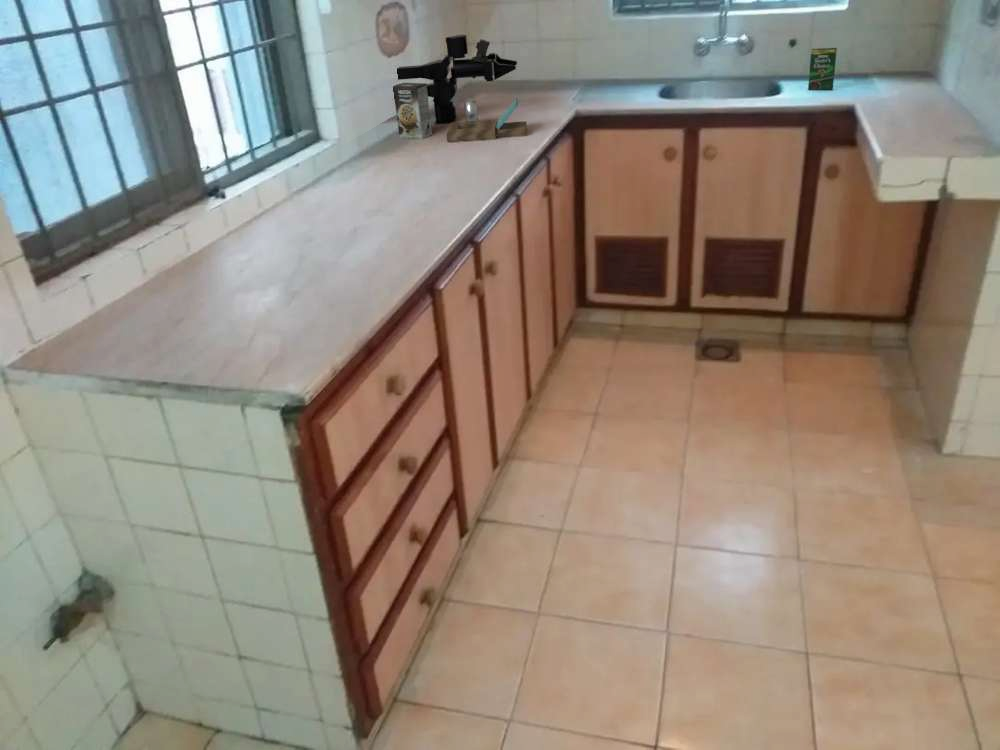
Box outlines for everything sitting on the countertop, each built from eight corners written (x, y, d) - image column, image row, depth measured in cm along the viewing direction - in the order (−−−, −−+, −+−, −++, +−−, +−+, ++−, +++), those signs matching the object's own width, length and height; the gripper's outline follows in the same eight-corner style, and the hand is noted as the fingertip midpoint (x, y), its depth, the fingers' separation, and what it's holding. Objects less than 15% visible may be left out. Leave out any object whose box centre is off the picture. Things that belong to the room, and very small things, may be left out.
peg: (465, 127, 268) (463, 102, 264) (467, 124, 271) (464, 99, 267) (477, 126, 267) (475, 101, 264) (478, 123, 271) (476, 99, 267)
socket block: (447, 142, 252) (446, 132, 250) (452, 131, 264) (451, 122, 262) (525, 137, 250) (525, 127, 248) (526, 126, 262) (526, 117, 260)
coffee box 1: (398, 138, 262) (391, 86, 254) (409, 133, 267) (402, 82, 259) (422, 139, 258) (415, 86, 250) (433, 134, 263) (427, 82, 255)
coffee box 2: (806, 90, 276) (810, 49, 270) (808, 88, 278) (812, 47, 272) (831, 90, 273) (836, 49, 266) (833, 88, 275) (837, 47, 268)
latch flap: (498, 129, 251) (496, 127, 251) (499, 122, 260) (498, 120, 259) (517, 107, 247) (515, 105, 247) (518, 100, 256) (516, 98, 256)
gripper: (464, 46, 257) (513, 42, 256) (469, 38, 273) (516, 35, 272) (467, 83, 262) (515, 79, 261) (472, 73, 279) (518, 70, 277)
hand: (516, 65), depth 268 cm, fingers open, 9 cm apart
